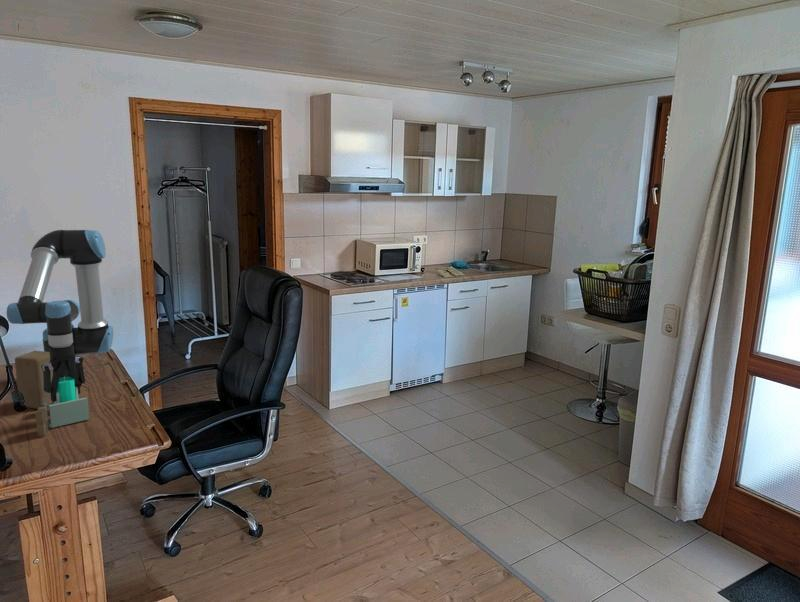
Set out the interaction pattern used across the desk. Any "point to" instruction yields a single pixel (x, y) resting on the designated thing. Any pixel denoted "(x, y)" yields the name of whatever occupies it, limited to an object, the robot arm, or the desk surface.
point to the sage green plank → (69, 412)
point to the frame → (42, 420)
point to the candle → (66, 389)
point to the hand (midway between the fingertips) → (66, 406)
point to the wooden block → (33, 378)
